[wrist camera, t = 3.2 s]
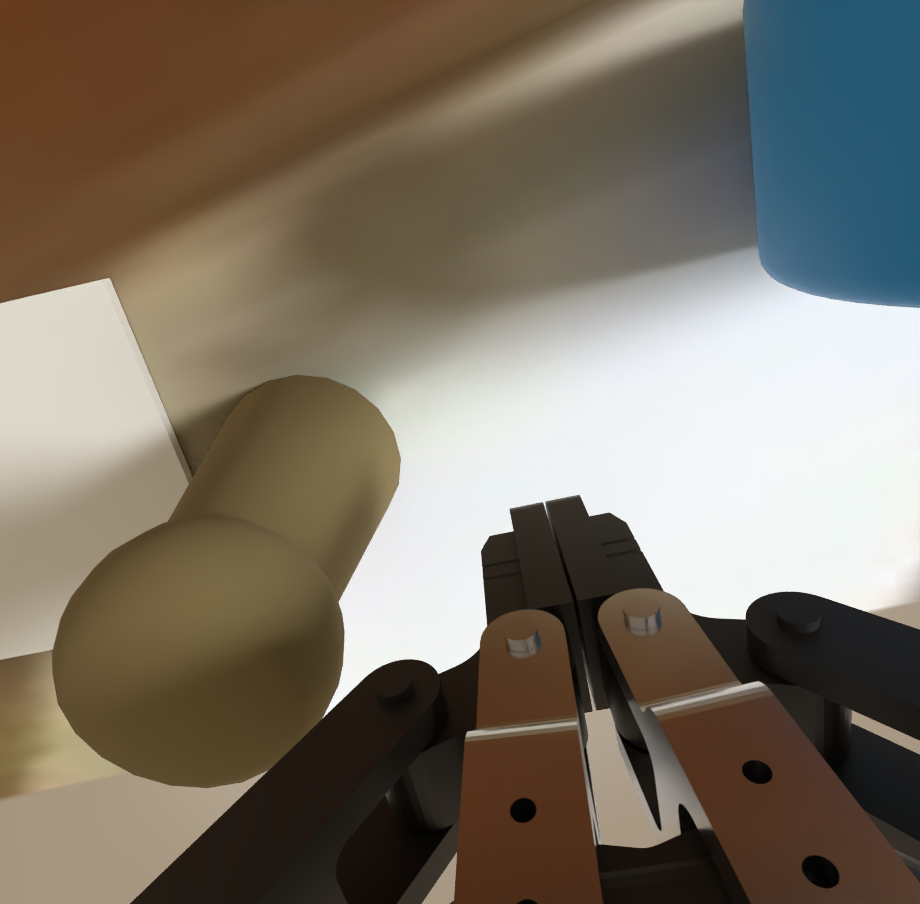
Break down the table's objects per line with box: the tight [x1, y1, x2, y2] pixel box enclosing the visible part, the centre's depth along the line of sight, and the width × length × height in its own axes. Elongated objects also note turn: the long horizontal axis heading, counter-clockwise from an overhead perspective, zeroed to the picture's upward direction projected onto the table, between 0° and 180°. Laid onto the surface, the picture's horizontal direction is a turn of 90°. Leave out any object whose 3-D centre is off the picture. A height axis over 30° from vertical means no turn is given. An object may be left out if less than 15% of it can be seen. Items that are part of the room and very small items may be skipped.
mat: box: [0, 278, 193, 660], centre depth 21 cm, size 12×10×1 cm
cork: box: [52, 375, 401, 788], centre depth 15 cm, size 6×6×11 cm
